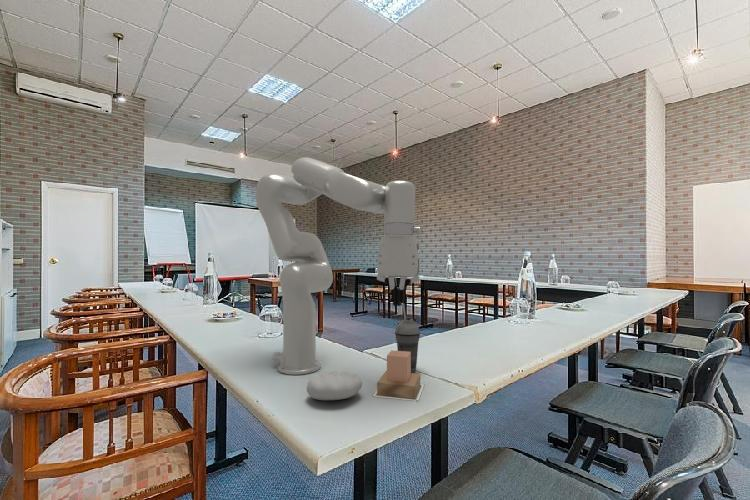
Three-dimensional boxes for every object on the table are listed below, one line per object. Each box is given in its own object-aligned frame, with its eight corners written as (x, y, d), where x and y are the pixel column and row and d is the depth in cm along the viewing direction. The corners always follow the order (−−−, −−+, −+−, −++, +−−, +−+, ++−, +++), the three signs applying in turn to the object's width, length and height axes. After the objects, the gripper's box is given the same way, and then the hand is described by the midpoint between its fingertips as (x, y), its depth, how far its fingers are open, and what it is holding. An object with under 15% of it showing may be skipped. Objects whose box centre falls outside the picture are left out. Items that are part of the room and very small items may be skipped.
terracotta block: (391, 373, 91) (391, 350, 91) (410, 375, 90) (410, 351, 90) (386, 380, 86) (386, 355, 86) (407, 382, 85) (407, 357, 85)
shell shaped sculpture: (355, 414, 76) (355, 383, 76) (298, 410, 78) (299, 380, 78) (366, 391, 88) (366, 365, 88) (318, 388, 90) (318, 362, 91)
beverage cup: (419, 378, 97) (419, 305, 98) (393, 376, 99) (393, 304, 99) (421, 370, 104) (421, 302, 105) (396, 368, 106) (396, 301, 106)
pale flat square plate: (372, 398, 84) (372, 396, 84) (383, 382, 95) (383, 380, 95) (418, 403, 81) (418, 401, 81) (424, 386, 92) (424, 384, 92)
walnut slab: (377, 395, 85) (377, 382, 85) (386, 382, 93) (386, 370, 93) (414, 399, 82) (414, 386, 82) (420, 385, 91) (420, 373, 91)
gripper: (430, 232, 90) (429, 304, 90) (374, 232, 94) (372, 301, 94) (427, 230, 83) (425, 309, 83) (366, 230, 87) (364, 305, 87)
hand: (397, 304), depth 89 cm, fingers closed
